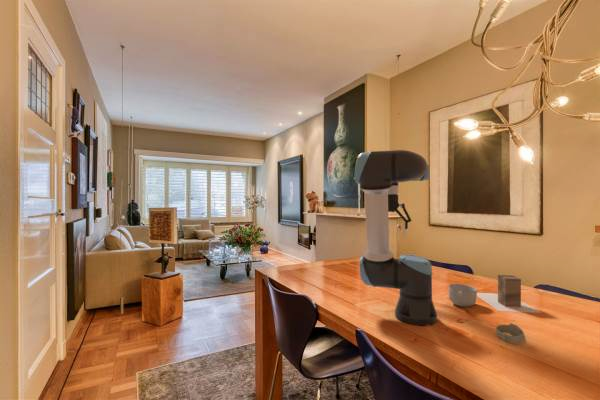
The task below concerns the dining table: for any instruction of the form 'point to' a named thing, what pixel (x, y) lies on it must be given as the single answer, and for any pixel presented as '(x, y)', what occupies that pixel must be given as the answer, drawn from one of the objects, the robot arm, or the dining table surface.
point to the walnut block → (509, 291)
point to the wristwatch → (511, 329)
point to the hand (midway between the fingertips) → (390, 235)
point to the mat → (493, 301)
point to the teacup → (462, 294)
